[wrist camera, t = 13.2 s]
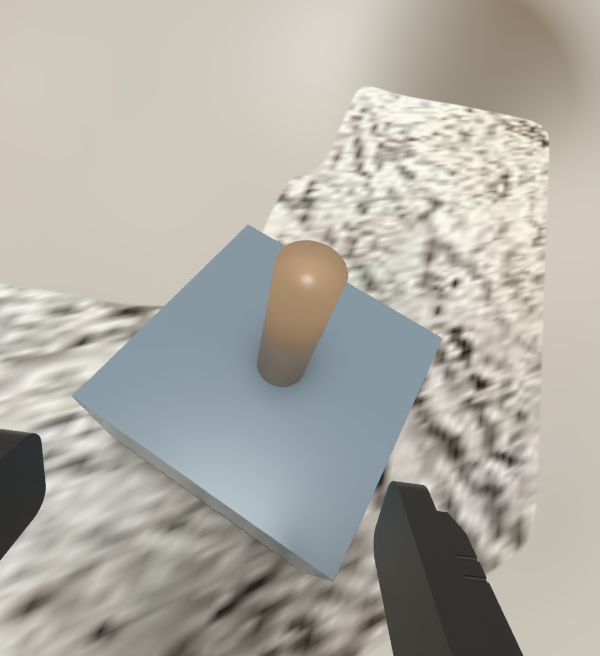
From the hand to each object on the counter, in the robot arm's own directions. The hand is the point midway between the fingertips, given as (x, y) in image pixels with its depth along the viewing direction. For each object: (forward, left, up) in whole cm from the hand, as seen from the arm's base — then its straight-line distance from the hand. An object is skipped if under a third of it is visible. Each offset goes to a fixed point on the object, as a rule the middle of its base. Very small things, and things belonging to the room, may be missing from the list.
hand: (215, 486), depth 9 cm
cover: (-2, +5, -17) cm, 18 cm away
